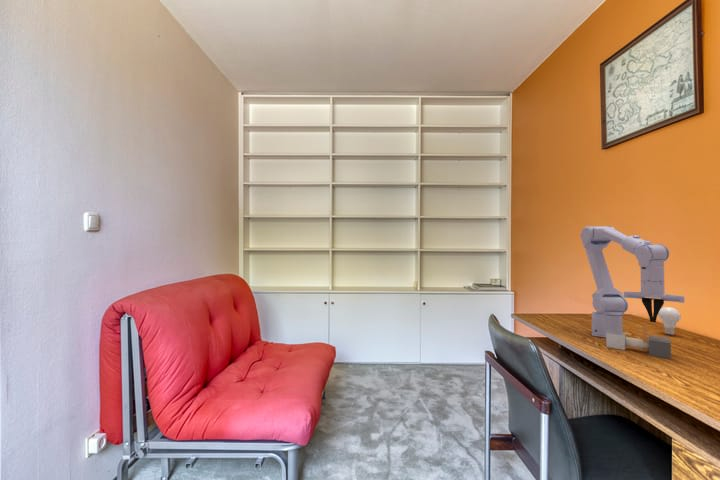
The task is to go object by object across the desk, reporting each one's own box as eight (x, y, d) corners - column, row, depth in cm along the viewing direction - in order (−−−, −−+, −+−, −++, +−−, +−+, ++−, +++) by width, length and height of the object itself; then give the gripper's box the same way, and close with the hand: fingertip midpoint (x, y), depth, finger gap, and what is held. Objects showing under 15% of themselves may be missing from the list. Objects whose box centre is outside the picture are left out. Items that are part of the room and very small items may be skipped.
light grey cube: (606, 347, 108) (606, 332, 109) (607, 343, 112) (607, 329, 112) (625, 350, 105) (624, 335, 105) (625, 346, 109) (625, 332, 109)
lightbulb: (686, 337, 119) (685, 308, 119) (669, 337, 119) (668, 308, 119) (669, 332, 125) (669, 305, 125) (653, 332, 125) (653, 305, 125)
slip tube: (617, 345, 107) (617, 323, 107) (618, 343, 109) (617, 322, 109) (662, 353, 100) (661, 329, 100) (661, 350, 102) (661, 327, 102)
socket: (649, 355, 100) (648, 339, 100) (649, 349, 105) (648, 335, 105) (671, 359, 97) (670, 343, 97) (669, 353, 102) (669, 338, 102)
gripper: (622, 280, 105) (623, 320, 104) (684, 283, 95) (685, 328, 95) (624, 278, 110) (624, 316, 110) (683, 281, 100) (683, 323, 100)
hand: (652, 321), depth 102 cm, fingers closed
